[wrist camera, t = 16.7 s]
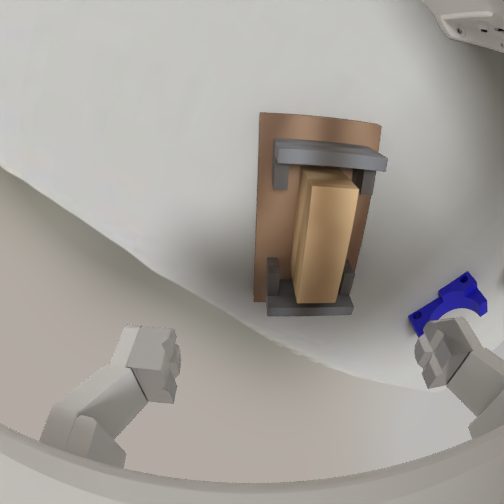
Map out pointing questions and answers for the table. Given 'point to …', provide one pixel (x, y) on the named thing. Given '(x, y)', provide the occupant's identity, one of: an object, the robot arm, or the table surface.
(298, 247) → the top rail
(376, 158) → the wooden clamp fixture
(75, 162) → the table surface
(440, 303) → the cable clip
